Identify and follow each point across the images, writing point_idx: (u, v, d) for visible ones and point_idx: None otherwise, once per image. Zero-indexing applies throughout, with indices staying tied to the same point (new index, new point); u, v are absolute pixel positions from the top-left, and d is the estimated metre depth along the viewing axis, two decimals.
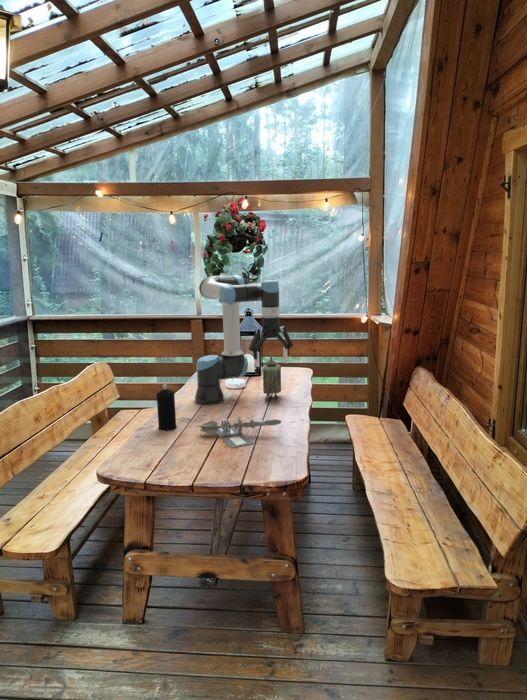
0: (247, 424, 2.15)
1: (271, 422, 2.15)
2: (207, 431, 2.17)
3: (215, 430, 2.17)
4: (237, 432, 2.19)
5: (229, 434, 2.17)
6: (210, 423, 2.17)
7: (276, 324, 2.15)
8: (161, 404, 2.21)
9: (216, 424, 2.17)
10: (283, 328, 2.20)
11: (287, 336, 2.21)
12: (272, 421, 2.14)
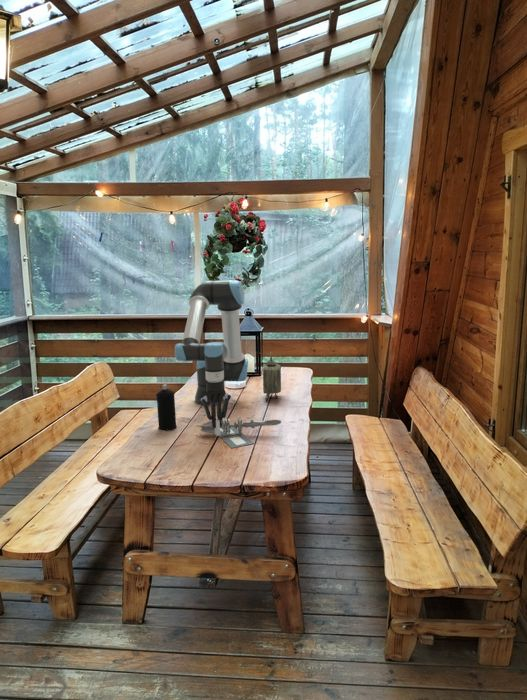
0: (247, 424, 2.15)
1: (271, 422, 2.15)
2: (207, 431, 2.17)
3: None
4: (237, 432, 2.19)
5: (229, 434, 2.17)
6: (210, 423, 2.17)
7: (220, 389, 2.06)
8: (161, 404, 2.21)
9: None
10: (228, 396, 2.11)
11: (226, 405, 2.11)
12: (272, 421, 2.15)
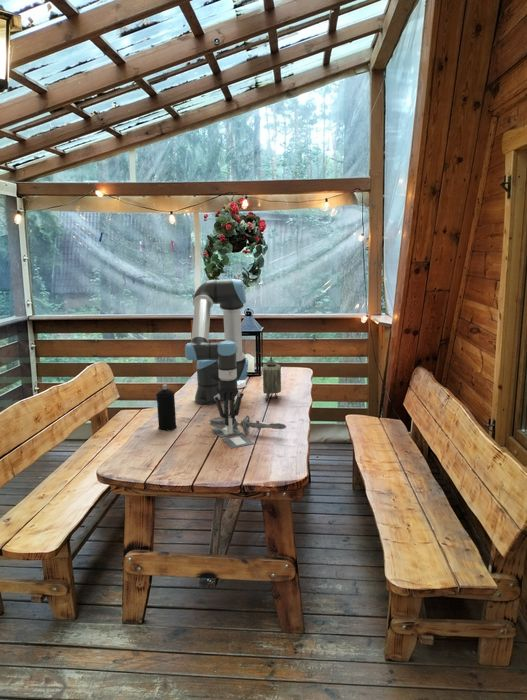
0: (252, 424, 2.15)
1: (276, 425, 2.13)
2: (215, 426, 2.22)
3: (223, 426, 2.21)
4: (237, 432, 2.19)
5: (229, 434, 2.17)
6: (219, 418, 2.22)
7: (233, 387, 2.08)
8: (161, 404, 2.21)
9: (224, 420, 2.21)
10: (240, 394, 2.13)
11: (239, 403, 2.13)
12: (277, 425, 2.12)
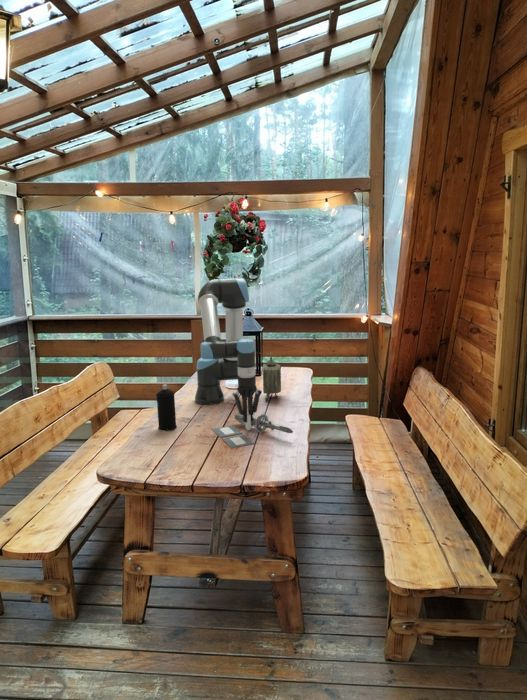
0: (265, 424, 2.16)
1: (284, 429, 2.09)
2: (238, 420, 2.28)
3: None
4: (237, 432, 2.19)
5: (229, 434, 2.17)
6: None
7: (252, 384, 2.11)
8: (161, 404, 2.21)
9: None
10: (259, 391, 2.16)
11: (257, 400, 2.16)
12: (284, 428, 2.08)
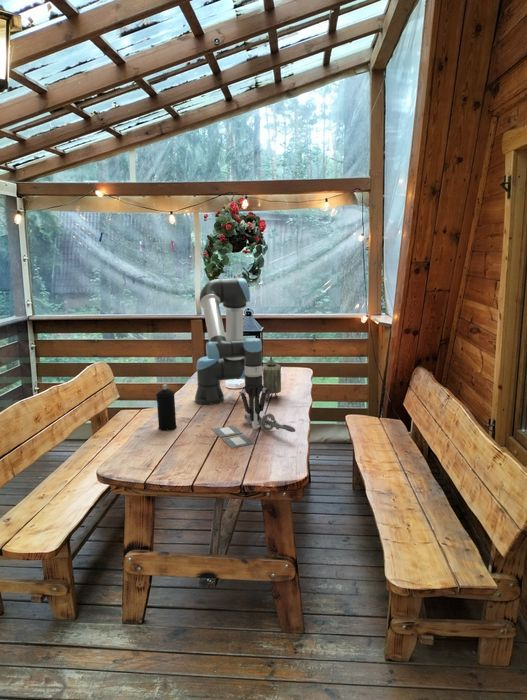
0: (270, 423, 2.16)
1: (287, 427, 2.08)
2: (247, 420, 2.30)
3: None
4: (237, 432, 2.19)
5: (229, 434, 2.17)
6: None
7: (259, 383, 2.13)
8: (161, 404, 2.21)
9: None
10: (265, 390, 2.18)
11: (263, 399, 2.18)
12: (287, 427, 2.08)
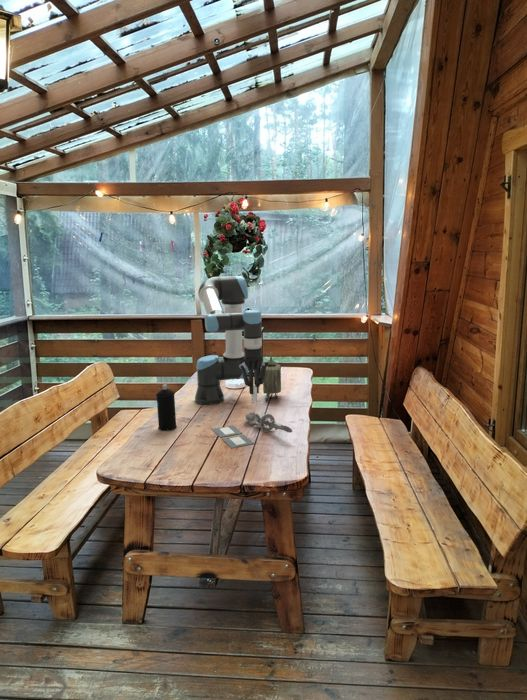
0: (269, 423, 2.16)
1: (284, 428, 2.08)
2: (248, 420, 2.31)
3: (253, 421, 2.28)
4: (237, 432, 2.19)
5: (229, 434, 2.17)
6: (252, 414, 2.30)
7: (258, 355, 2.10)
8: (161, 404, 2.21)
9: (254, 416, 2.28)
10: (265, 363, 2.15)
11: (263, 372, 2.15)
12: (285, 427, 2.07)
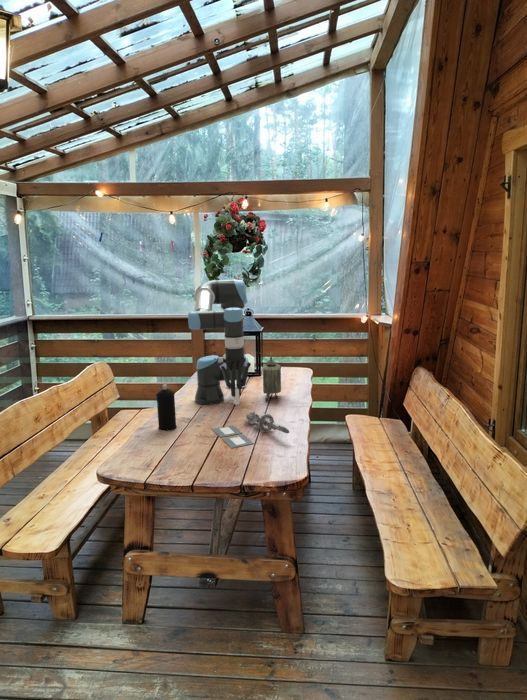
0: (268, 424, 2.15)
1: (281, 429, 2.07)
2: (249, 420, 2.31)
3: (253, 421, 2.28)
4: (237, 432, 2.19)
5: (229, 434, 2.17)
6: (252, 414, 2.30)
7: (240, 355, 1.99)
8: (161, 404, 2.21)
9: (254, 416, 2.28)
10: (247, 363, 2.04)
11: (246, 373, 2.04)
12: (282, 428, 2.06)
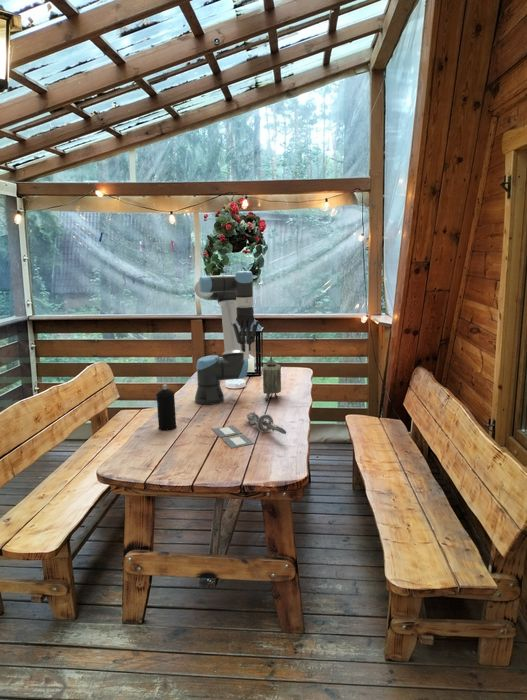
0: (266, 424, 2.15)
1: (279, 429, 2.06)
2: (249, 420, 2.31)
3: (253, 421, 2.28)
4: (237, 432, 2.19)
5: (229, 434, 2.17)
6: (252, 414, 2.30)
7: (250, 314, 2.22)
8: (161, 404, 2.21)
9: (255, 416, 2.28)
10: (256, 322, 2.27)
11: (255, 331, 2.27)
12: (279, 428, 2.06)
